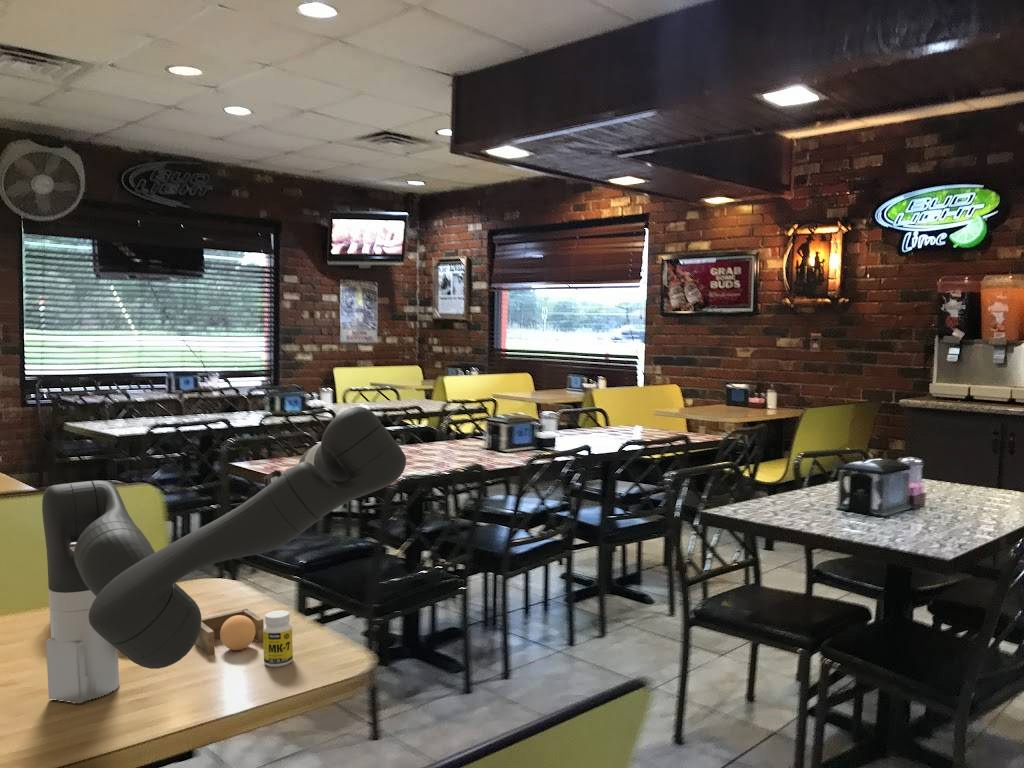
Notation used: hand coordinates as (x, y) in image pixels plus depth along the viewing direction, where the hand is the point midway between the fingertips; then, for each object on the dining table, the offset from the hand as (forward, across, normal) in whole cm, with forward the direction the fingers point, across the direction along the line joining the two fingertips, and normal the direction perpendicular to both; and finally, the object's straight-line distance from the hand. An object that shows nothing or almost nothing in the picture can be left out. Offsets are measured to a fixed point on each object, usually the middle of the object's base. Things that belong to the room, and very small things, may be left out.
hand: (305, 480), depth 129 cm
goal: (+35, -10, -24) cm, 43 cm away
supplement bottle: (+21, -5, -28) cm, 36 cm away
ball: (+29, -9, -22) cm, 38 cm away
